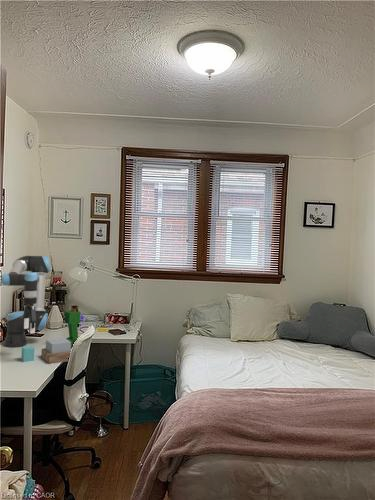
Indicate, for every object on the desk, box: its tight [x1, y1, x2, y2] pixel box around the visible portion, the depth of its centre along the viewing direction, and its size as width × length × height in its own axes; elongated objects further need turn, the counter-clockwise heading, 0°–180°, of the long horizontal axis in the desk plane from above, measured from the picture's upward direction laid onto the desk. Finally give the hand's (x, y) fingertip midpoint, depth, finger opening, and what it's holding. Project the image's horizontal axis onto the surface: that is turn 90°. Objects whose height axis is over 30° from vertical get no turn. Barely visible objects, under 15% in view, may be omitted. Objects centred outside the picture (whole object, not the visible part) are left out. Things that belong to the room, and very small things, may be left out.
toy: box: [64, 304, 81, 349], centre depth 275 cm, size 10×14×30 cm
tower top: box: [45, 337, 72, 354], centre depth 249 cm, size 12×12×6 cm
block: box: [21, 345, 35, 363], centre depth 244 cm, size 6×6×8 cm
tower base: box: [41, 347, 71, 365], centre depth 249 cm, size 16×16×6 cm
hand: (29, 330), depth 244 cm, fingers open, 13 cm apart
